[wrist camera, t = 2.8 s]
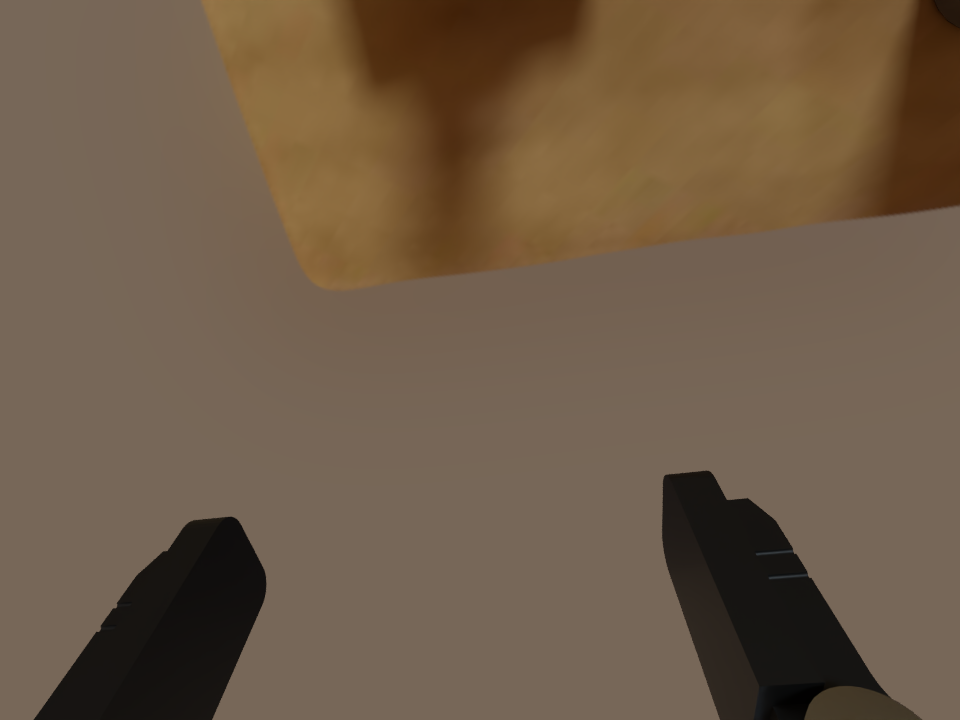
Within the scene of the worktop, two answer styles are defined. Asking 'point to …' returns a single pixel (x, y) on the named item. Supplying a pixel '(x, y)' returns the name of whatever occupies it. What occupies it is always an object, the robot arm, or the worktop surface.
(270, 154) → the worktop surface
